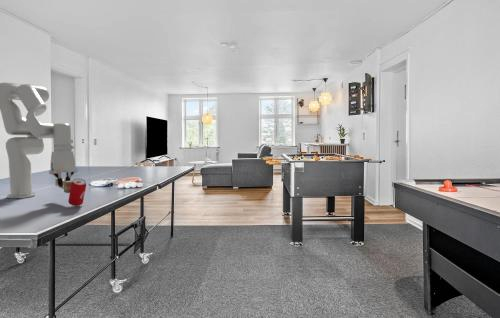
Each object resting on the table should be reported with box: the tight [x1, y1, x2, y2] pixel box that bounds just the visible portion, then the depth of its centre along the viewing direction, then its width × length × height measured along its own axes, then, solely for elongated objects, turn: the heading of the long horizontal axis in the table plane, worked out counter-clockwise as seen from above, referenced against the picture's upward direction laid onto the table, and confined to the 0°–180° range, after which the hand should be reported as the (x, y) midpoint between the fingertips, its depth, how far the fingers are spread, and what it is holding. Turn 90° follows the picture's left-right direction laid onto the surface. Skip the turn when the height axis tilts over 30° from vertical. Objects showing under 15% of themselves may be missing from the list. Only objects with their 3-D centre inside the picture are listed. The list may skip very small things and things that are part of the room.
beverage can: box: [67, 178, 87, 207], centre depth 154 cm, size 6×6×12 cm
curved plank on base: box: [54, 178, 73, 194], centre depth 163 cm, size 20×7×5 cm, turn 49°
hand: (64, 185), depth 164 cm, fingers closed on curved plank on base, 2 cm apart
